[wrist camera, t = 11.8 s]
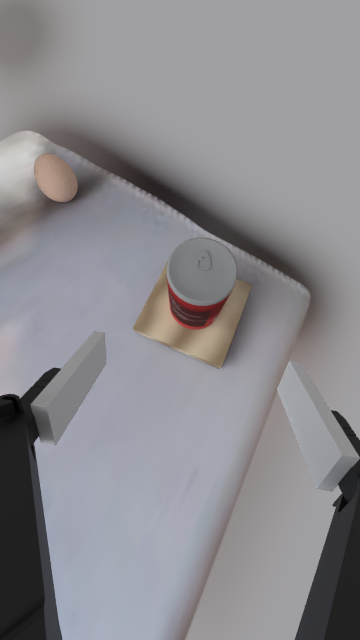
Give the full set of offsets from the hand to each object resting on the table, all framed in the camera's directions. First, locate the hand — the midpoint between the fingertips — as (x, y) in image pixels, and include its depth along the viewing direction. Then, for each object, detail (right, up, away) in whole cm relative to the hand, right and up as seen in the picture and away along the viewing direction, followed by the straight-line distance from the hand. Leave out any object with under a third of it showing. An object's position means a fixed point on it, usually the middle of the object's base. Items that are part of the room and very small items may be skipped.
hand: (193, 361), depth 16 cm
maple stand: (+1, +4, +21) cm, 21 cm away
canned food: (+1, +5, +18) cm, 19 cm away
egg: (-23, +27, +28) cm, 45 cm away
